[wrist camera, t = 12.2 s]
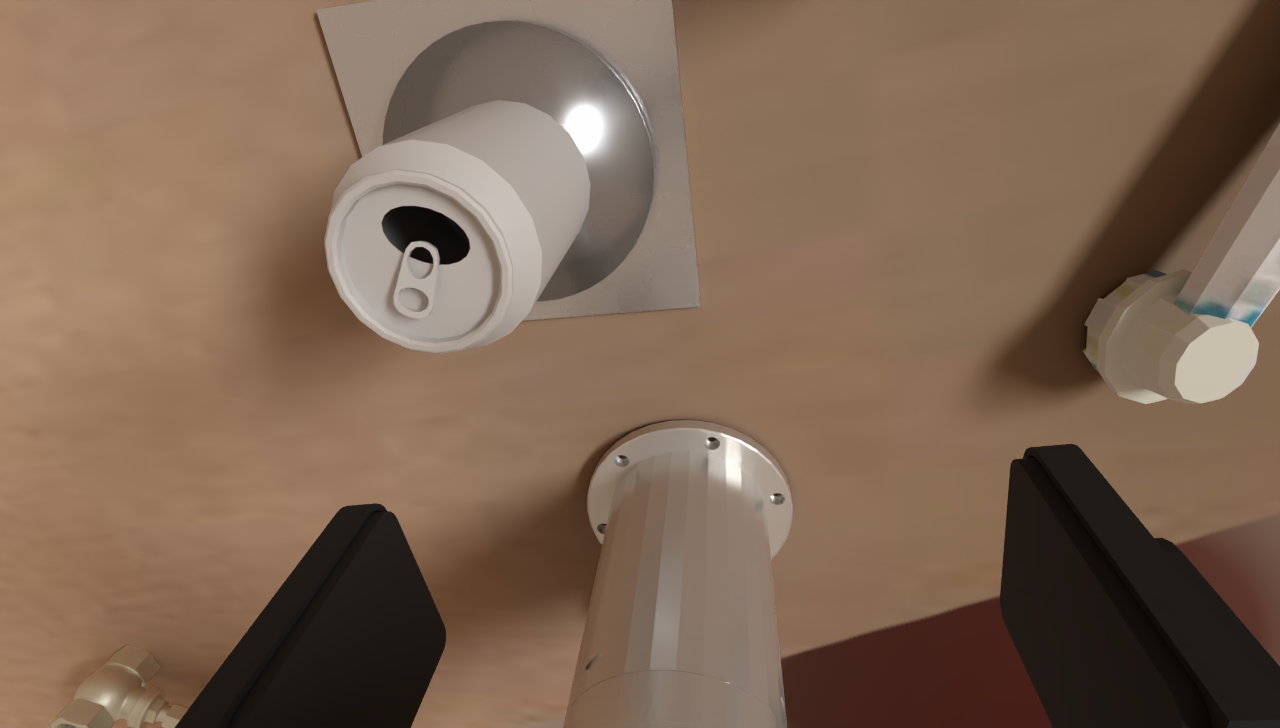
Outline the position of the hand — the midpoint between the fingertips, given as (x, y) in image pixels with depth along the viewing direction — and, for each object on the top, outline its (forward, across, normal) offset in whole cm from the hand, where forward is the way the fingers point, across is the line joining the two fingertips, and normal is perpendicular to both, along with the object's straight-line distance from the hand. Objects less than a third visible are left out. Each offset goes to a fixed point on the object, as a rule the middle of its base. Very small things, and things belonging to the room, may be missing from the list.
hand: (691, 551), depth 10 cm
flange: (+25, +9, -2) cm, 27 cm away
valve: (+26, +49, +34) cm, 65 cm away
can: (+24, +9, -2) cm, 26 cm away
